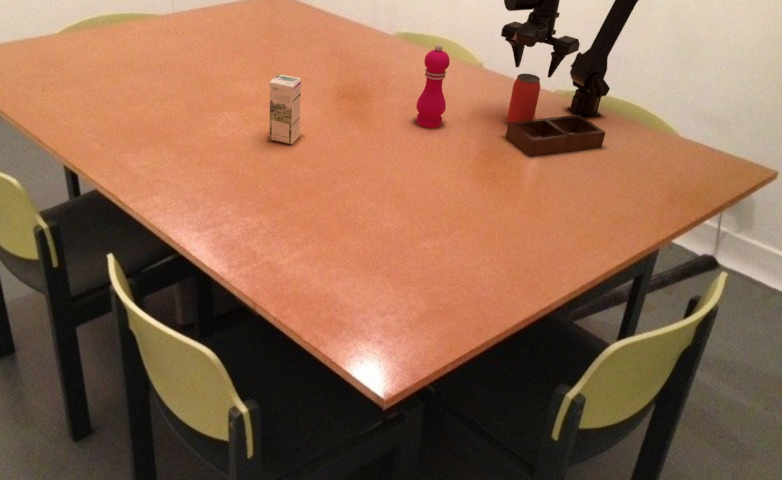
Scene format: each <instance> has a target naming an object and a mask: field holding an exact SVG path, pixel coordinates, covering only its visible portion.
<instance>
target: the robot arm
mask: <svg viewBox="0 0 782 480" xmlns="http://www.w3.org/2000/svg"><path fill="white" fill-rule="evenodd" d="M639 1H640V0H614V1H613V3H612V5H611V7H610V9H609V11H608V13H607V15H606V16H605V19H604V21H603V22H602V24H601V26H600V28H599V30H598V31H597V34H596V36H595V37H594V39H593V41H592V43H591V45H590V47H589V48H588V49H587V50H586V51H584V52H583V53H582V52H580V51H579V49H580V45H581V44H580V40H579V38H576V37H572V36H569V35H564V36H561V37H555V36H554V35H556V34H557V33H556V32H557V29H555V25H556V21H557V19H559V18H560V14H561V13H560V12H558V10H559V6H560V2H561V0H503V4H504V7H505V9H506V10H507V11H508V12H514V11H515V12H516V11H530V12H529V14H528V16H527V19H526V21H525V22H523V23H522V22H519V21H512V22H509V23H507V24H505V25H503V26H502V28H501V32H500V36H501V37H502V38H504V40H505V41H506V42H508V44H509V45H510V46H511V49H512V52H513V53H512V54H513V59H514V66H515V68H519V67H520V66H521V62H522V60H523V55H524V50H525V47H528V48H532V47H535V46H536V44H537V43H539V44H546V45H548V46H552V50H553V51H551V52H550V56H551V59H550V64H549V67H548V72H547V78H551V77H552V76H553V75H554V73H555V72H556V70H558V68H559V67H560V64H561V63H562V62H563V60H564V59H565V58H566V57H567V56H569V55H571V54H574V53H576V52H578V51H579V52H578V53H577V54H576V56H575V58H574V61H573V62H572V63H571V64H570V71H569V75H570V78H571V80H572V81H571V82H572V86H573V87H575V88H576V89H575V92H574V95H573V96H572V99H571V104H570V106H567V107H566V109H567V111H569V112H570V113H572V114H573V115H580V116H582V117H583V118H585V119H586V118H596V117H597V118H598V117H601V116H602V115H601V113H600V112H599V107H600V103H601V101H602V97H606V96H607V95H608V93H609V91H610V90H611V88H610V86H609V85H608V83H607V81H606V80H605V76H606V74H607V71H608V58H609V55H610V53H611V51H612V50H613V48H614V46H615V45H616V42H617V40H618V38H619V37H620V35H621V33H622V31H623V30H624V28H625V25H626V23H627V21H628V20H629V18H630V16H631V14H632V13H633V11H634V9H635V7H636V5H637V3H638V2H639ZM531 10H532V11H531Z"/></svg>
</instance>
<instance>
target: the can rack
mask: <svg viewBox="0 0 782 480" xmlns="http://www.w3.org/2000/svg"><path fill="white" fill-rule="evenodd" d="M606 133H607V132H606V131H605V130H603V129H601V128H600V127H598V126H597V125H596V124H594V123H593V122H591V121H590V120H588V119H586V118H583V117H582V116H580V115H575V114H572V115H563V116H554V117H553V116H552V117H546V118H545V117H544V118H537V119H535V118H534V120H526V121H517V122H508V121H507V128H506V131H505V139H507V140H508V141H509V142H510V143H511V144H513V145H514V146H515V147H517V148H518V149H519V150H520V151H522V152H523V153H524V154H525V155H527V156H528V157H536V156H544V155H552V154H559V153H560V154H561V153H567V152H576V151H583V150H590V149H599V148H602V147H603V144H604V141H605V136H606ZM540 136H542V137H540ZM535 137H536V138H535Z"/></svg>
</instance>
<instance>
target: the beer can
mask: <svg viewBox="0 0 782 480" xmlns="http://www.w3.org/2000/svg"><path fill="white" fill-rule="evenodd" d="M540 81H541V79H540V77H539V76H538V75H536V74H533V73H532V74H531V73H520V74H518V75H517V76H516V79H515V81H514V83H513V85H512V90H511V95H510V101H509V106H508V112H507V116H506V120H507V123H508V122H517V121H526V120H535V116H536V111H537V105H538V101H539V97H540V92H541V82H540Z"/></svg>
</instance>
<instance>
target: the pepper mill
mask: <svg viewBox="0 0 782 480" xmlns="http://www.w3.org/2000/svg"><path fill="white" fill-rule="evenodd" d="M450 60H451V59H450V56H449V54H448V53H447V52H446V51H444V50H443V45H442V44H441V43H437V44H435V47H434V49H432V50H430V51H429V52H427V53H426V55H425V57H424V66H425V68H426V69H425V70H424V72H425V73H424V76H425V77H426V80H425V81H426V82H425V86H424V88H423V90H422V92H421V94H420V95H419V97H418V98H417V101H416V110H417V112H418V113H417V115H416V124H418V125H419V126H420V127H422V128H427V129H435V128H439V127H440V126H441V125H442V122H443V117H442V115H443V114H444V113H445V112H446V108H447V107H446V106H447V105H446V99H445V98H446V97H445V96H444V92H443V81H444V79H445V78H446V76H447V75H446V74H447V71H446V70H447V69H448V68H449V66H450V63H451V61H450Z"/></svg>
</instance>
